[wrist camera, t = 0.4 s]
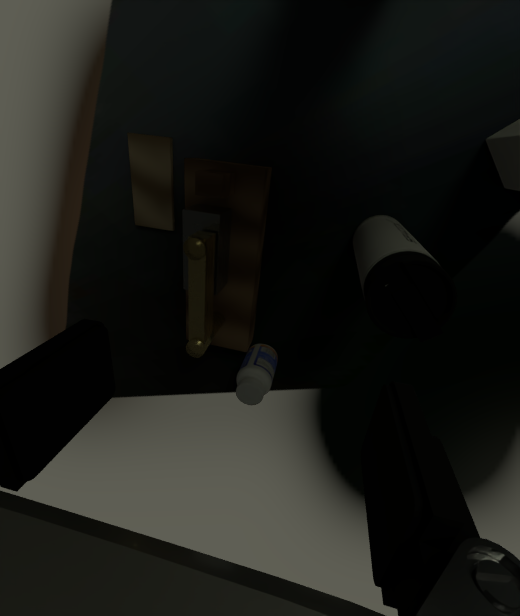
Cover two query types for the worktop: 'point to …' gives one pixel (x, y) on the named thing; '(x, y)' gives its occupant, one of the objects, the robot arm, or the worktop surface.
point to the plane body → (234, 239)
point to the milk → (507, 154)
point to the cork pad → (152, 180)
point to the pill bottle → (256, 374)
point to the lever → (201, 292)
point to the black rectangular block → (213, 222)
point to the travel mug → (401, 280)
